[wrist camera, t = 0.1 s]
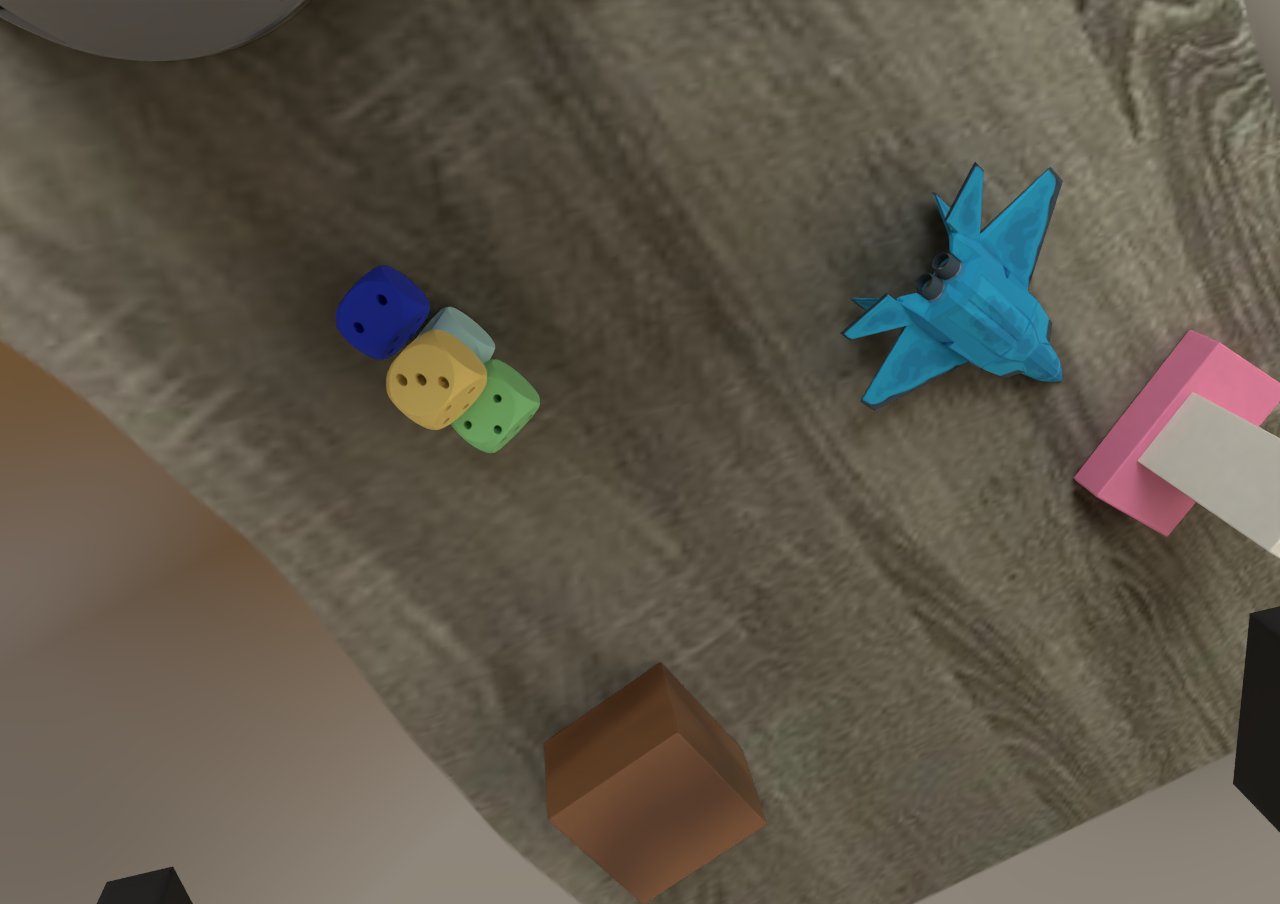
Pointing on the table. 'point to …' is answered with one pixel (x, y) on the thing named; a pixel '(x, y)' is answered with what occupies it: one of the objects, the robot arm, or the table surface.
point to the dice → (436, 361)
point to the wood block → (650, 785)
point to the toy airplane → (970, 298)
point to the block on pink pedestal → (1195, 446)
